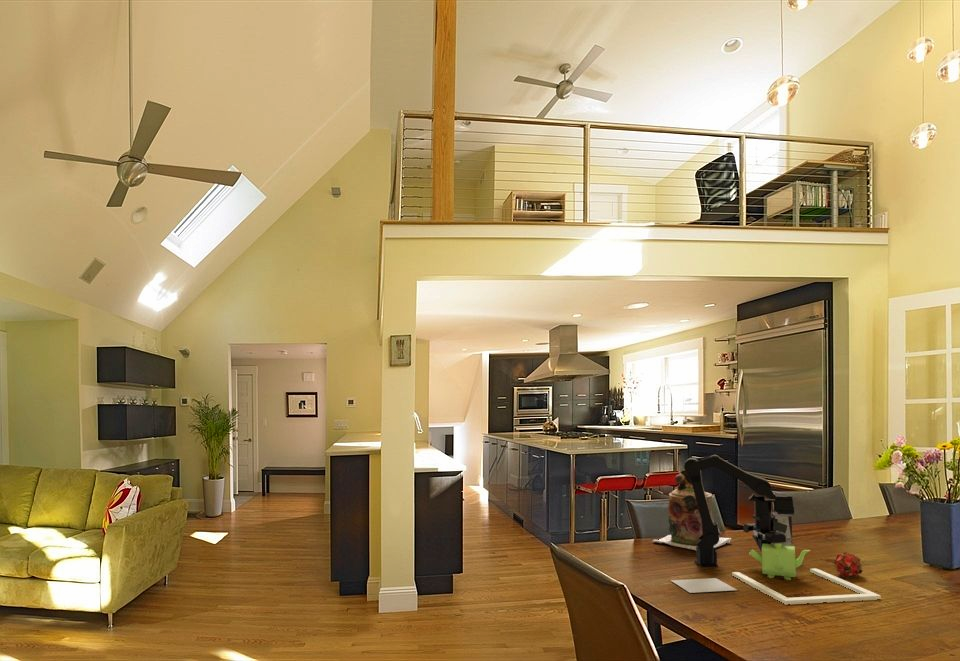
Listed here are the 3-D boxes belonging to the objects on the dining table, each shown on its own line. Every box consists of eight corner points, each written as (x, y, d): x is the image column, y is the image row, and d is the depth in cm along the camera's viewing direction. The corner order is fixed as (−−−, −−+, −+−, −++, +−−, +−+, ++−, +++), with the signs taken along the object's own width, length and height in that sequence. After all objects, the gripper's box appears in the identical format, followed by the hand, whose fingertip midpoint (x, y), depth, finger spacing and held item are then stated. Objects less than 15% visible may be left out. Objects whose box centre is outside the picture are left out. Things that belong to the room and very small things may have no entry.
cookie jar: (681, 534, 300) (679, 462, 303) (733, 543, 282) (731, 467, 285) (650, 543, 284) (648, 467, 286) (704, 553, 266) (701, 472, 268)
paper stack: (754, 601, 208) (754, 599, 208) (679, 605, 204) (679, 603, 204) (715, 580, 231) (715, 577, 231) (647, 583, 227) (647, 581, 227)
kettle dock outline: (785, 604, 204) (785, 600, 204) (732, 575, 235) (732, 572, 235) (880, 599, 209) (880, 595, 209) (816, 571, 240) (816, 568, 240)
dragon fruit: (851, 576, 240) (850, 589, 229) (829, 559, 243) (827, 572, 233) (866, 559, 237) (866, 572, 227) (844, 543, 240) (842, 555, 230)
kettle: (812, 579, 230) (811, 546, 230) (781, 585, 225) (780, 551, 225) (778, 567, 244) (776, 536, 244) (748, 572, 238) (747, 540, 239)
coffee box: (793, 558, 258) (792, 516, 259) (776, 557, 259) (774, 515, 260) (787, 552, 267) (786, 511, 268) (770, 551, 268) (769, 511, 269)
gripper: (799, 517, 237) (801, 562, 236) (768, 507, 255) (770, 549, 254) (770, 519, 235) (772, 564, 234) (741, 508, 254) (743, 550, 252)
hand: (764, 556), depth 244 cm, fingers closed
